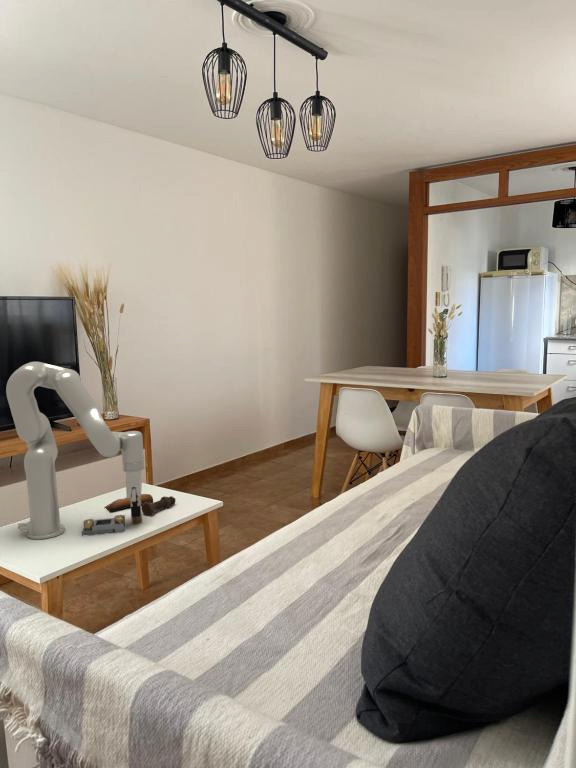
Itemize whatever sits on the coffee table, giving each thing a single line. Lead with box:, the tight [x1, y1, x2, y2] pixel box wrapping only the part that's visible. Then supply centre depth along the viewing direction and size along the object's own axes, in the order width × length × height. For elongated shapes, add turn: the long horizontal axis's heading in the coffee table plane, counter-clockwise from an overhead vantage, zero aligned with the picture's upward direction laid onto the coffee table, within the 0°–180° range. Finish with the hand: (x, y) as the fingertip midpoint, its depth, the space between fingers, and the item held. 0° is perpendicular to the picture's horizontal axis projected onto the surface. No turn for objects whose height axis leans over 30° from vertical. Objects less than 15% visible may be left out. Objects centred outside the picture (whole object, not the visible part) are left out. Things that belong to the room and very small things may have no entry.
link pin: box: [130, 496, 143, 525], centre depth 213 cm, size 4×4×13 cm
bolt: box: [141, 495, 176, 517], centre depth 227 cm, size 6×5×15 cm
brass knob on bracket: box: [81, 514, 126, 537], centre depth 207 cm, size 14×7×4 cm, turn 101°
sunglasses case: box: [103, 493, 154, 513], centre depth 234 cm, size 18×7×7 cm
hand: (136, 513), depth 214 cm, fingers open, 4 cm apart
